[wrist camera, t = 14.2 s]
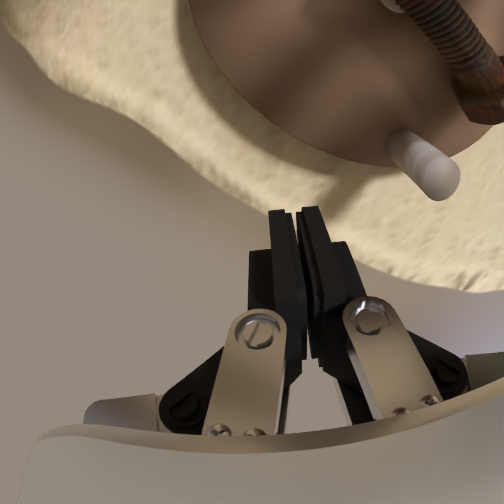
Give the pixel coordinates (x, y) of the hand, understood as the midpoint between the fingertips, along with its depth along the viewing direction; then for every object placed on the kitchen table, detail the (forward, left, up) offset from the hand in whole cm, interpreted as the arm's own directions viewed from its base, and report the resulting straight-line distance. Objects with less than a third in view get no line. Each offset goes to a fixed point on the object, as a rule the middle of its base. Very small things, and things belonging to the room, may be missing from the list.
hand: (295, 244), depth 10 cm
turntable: (-2, +13, -11) cm, 17 cm away
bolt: (-1, +13, -8) cm, 16 cm away
